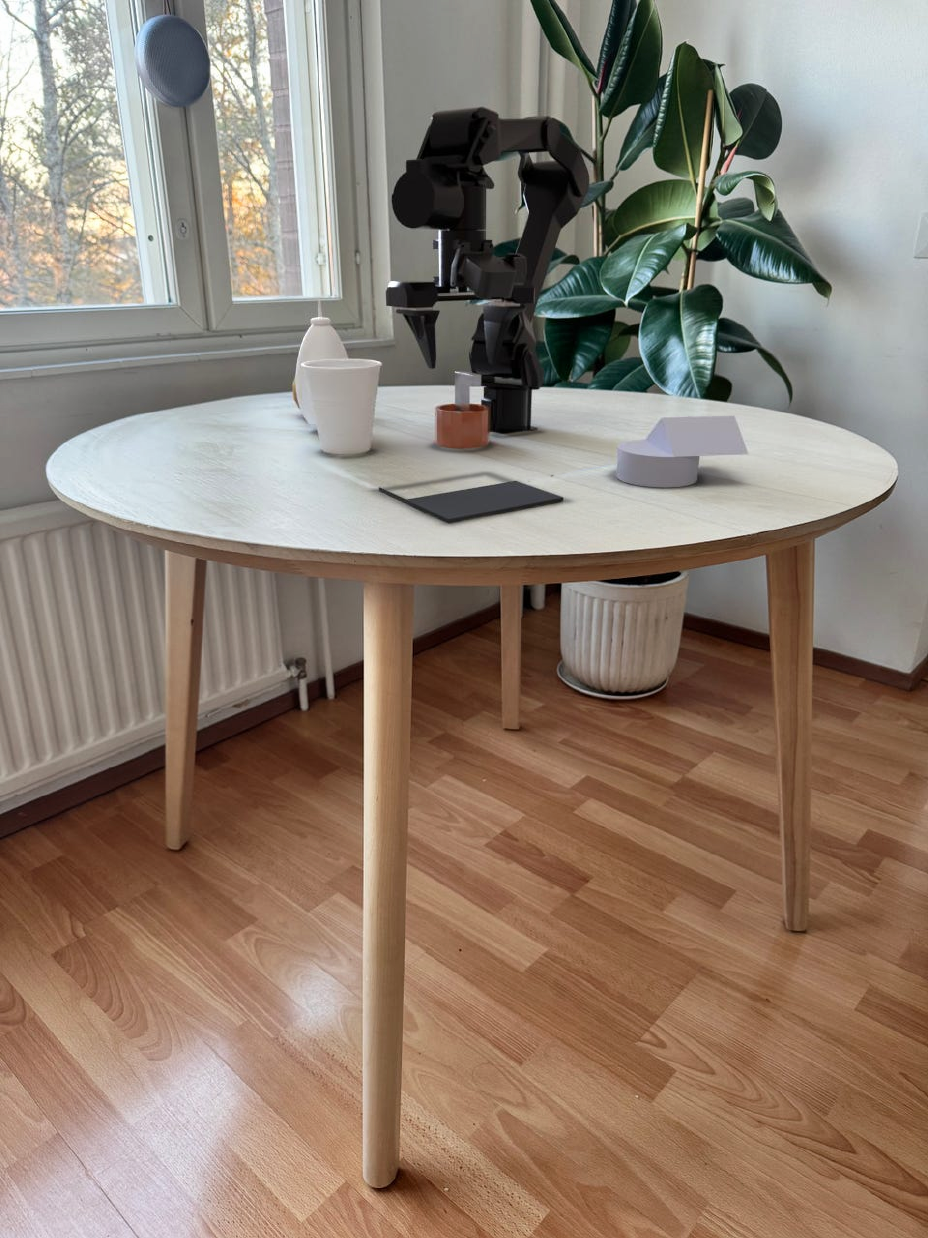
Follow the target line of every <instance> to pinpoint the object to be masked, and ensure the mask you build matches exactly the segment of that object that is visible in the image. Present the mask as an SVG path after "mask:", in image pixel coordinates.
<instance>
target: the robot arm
mask: <svg viewBox="0 0 928 1238" xmlns="http://www.w3.org/2000/svg"><path fill="white" fill-rule="evenodd" d="M516 152H517V153H518V155H519V157H520V159H519V163H518V169H517V177H518V179H519V181H520V183H521V185H522V187H523V189H524V190H523V193H522V197H523V200H524V204H525V207H526V211H527V218H526V221H525V224H524V227H523V229H522V233H521V236H520V238H519V242H518V246H517V248H516V252H515V253H513V252H511V253H509V252H508V253H507V254H506V256H504V257H503V256H501V257H500V256H499V257H498V256H496V255H495V252H494V244H493V239H487V190H493V189H495V182H494V181H493V179H492V178H491V177H490V176H489V175H488V173H487V172H486V170H485V167H484V166H485V165H489V164H491V163H492V162H494V161H496V160H499V159H500V157H501V154H503V153H516ZM543 152H544V153H546V152H547V153H548V155H549V156H550V158H552V159H553V160H541V161H540V160H539V161H535V162H533V159H532V157H531V155H530V154H532V153H543ZM590 181H591V180H590V174H589V169H588V167H587V165H586V162H585V160H584V157H583V154H582V151H581V150H580V149H579V147H577V145H575V144H574V142H572V141H571V140H570V139H569V138H568V137H567V136H566V135H565V134H564V133H562V130H561V128H560V125H559V122H558V121H557V119H556V118H555V117H551V116H549V115H545V116H532V117H523V118H502V117H500V115H499V113H498V111H495V110H492V109H490V108H487V107H485V106H475V107H466V108H465V107H464V108H457V109H446V110H438V111H436V112H434V113H433V114H432V116H431V122H430V124H429V125H428V128H427V129H426V132H425V136H424V137H423V140H422V143H421V145H420V149H419V151H418V154H417V155H416V158H415V159H406V160H405V172H404V173H403V174H402V175H401V176H400V177H399V178H398V179H397V181H396V184H395V185H394V187H393V193H392V194H391V206H392V207H391V208H392V211H393V213H394V214H393V215H394V216H395V218H396V219H397V221H398V222H399V223H400V224H401V225H402V226H404V227H405V228H407V229H410V230H411V229H412V230H413V229H414V230H438V239H433V240H432V249H433V250H438V276H433V279H432V280H433V281H427V280H426V281H423V280H401V281H400V280H393V281H390V282H389V283H388V286H387V288H386V290H385V306H386V307H394V308H395V313H396V314H398V315H402V317H403V318H404V320H405V321H406V323H407V325H408V327H409V329H410V330H411V332H412V334H413V336H414V338H415V341H416V343H417V345H418V347H419V350H420V352H421V354H422V357H423V359H424V361H425V364H426V366H427V368H428V369H431V370H434V369H436V362H437V347H436V346H437V344H436V342H437V341H436V322H437V320H438V317H439V315H440V313H441V310H438V309H434V306H435V305H436V303H437V302H458V301H461V302H463V301H487V300H488V302H489V304H483V305H482V313H481V314H480V316H479V317H478V318H477V319H478V320H477V323H476V328H475V330H474V333H473V335H472V336H471V338H470V340H471V341H472V343H471V344H470V347H469V352H468V360H469V364H470V365H469V366H470V369H471V371H470V372H471V373H476V374H481V386H480V387H483V397H481V400H480V405H485V406H488V407H489V408H490V420H489V432H493V433H496V434H501V435H506V434H514V433H521V432H529V431H535V430H536V431H537V430H538V427H536V426H532V402H533V400H532V398H533V391H535V390H540V388H542V386H543V383H544V376H545V370H544V368H543V365H542V364H541V361H540V360H539V357H538V355H537V353H536V347H537V339H536V336H535V333H534V329H533V326H532V321H533V318H534V315H535V312H536V308H537V305H538V302H539V299H540V297H541V293H542V290H543V287H544V283H545V282H546V281H545V280H546V276H547V274H548V271H549V269H550V264H551V262H552V258H553V256H554V252H555V249H556V245H557V243H558V240H559V237H560V233H561V231H562V229H563V228H564V227H565V226H567V224H569V223H570V222H571V221H572V220H573V219H575V217H576V216H577V215H578V214H579V212H580V210H581V207H582V205H583V203H584V201H585V198H586V196H587V195H588V192H589V189H590ZM456 289H457V290H456ZM468 289H469V290H468Z"/></svg>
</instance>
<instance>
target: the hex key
mask: <svg viewBox="0 0 928 1238" xmlns="http://www.w3.org/2000/svg"><path fill="white" fill-rule="evenodd" d="M470 387H472V388H473V387H482V386H481V374H476V373H472V371H467V370H460V371H454V404H455V412H469V406H470V404H471V402H470V401H471V400H470V393H471V392H470V391H471V390H470Z"/></svg>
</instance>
